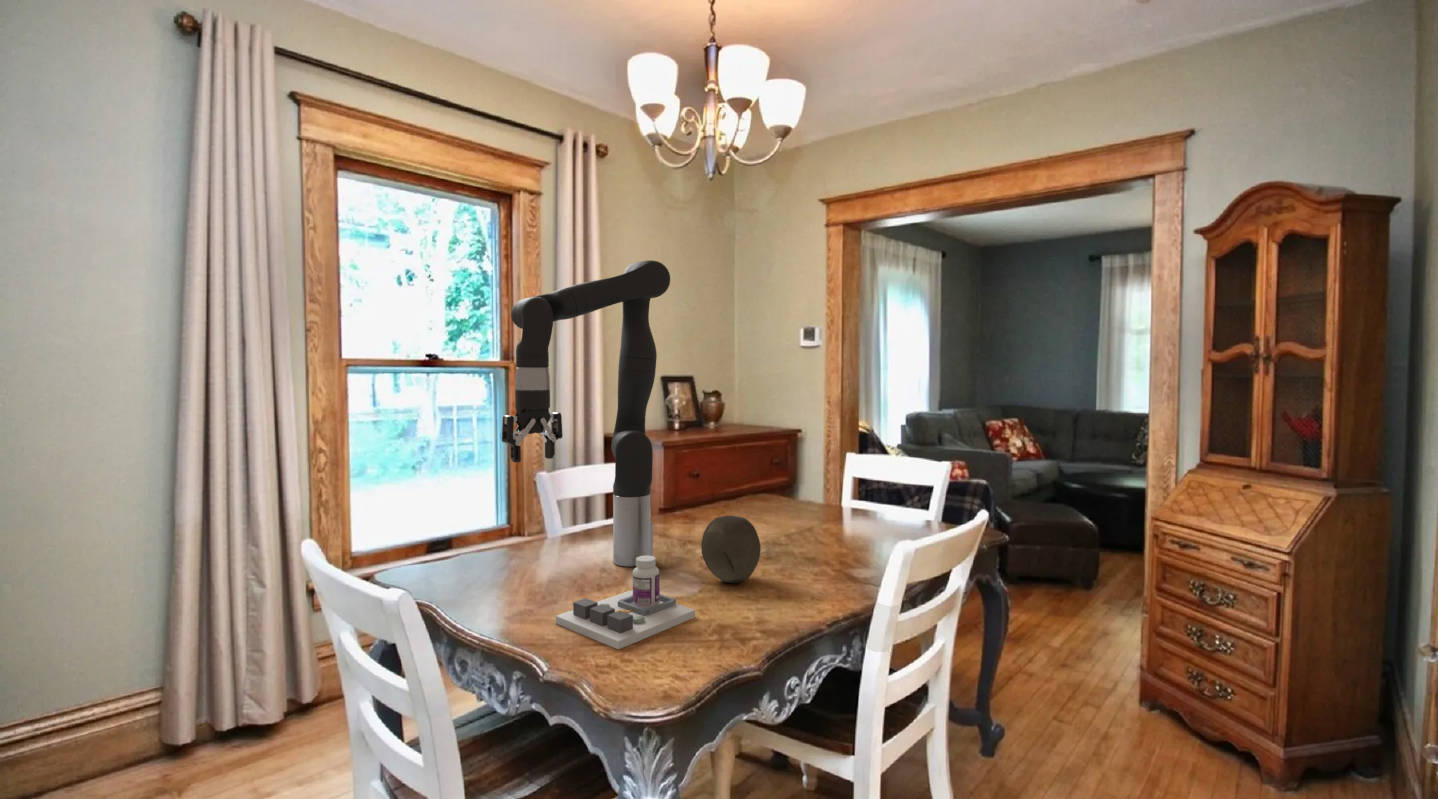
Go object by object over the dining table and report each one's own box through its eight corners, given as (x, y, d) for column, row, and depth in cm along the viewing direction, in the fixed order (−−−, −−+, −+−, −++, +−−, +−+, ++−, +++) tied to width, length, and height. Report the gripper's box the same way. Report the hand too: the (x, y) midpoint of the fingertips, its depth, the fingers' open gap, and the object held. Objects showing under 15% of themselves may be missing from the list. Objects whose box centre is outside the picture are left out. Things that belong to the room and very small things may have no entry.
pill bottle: (648, 598, 140) (648, 552, 139) (665, 605, 136) (665, 558, 136) (627, 605, 136) (627, 557, 136) (643, 612, 132) (643, 563, 132)
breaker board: (633, 596, 146) (633, 578, 145) (695, 617, 134) (695, 597, 134) (555, 623, 130) (555, 603, 130) (618, 649, 119) (618, 627, 118)
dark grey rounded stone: (773, 580, 157) (774, 516, 156) (732, 595, 147) (733, 527, 146) (728, 567, 166) (728, 507, 166) (687, 580, 156) (687, 516, 155)
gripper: (514, 389, 143) (514, 465, 144) (569, 387, 154) (569, 458, 155) (494, 388, 148) (495, 462, 149) (549, 386, 159) (549, 455, 160)
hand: (533, 460), depth 152 cm, fingers open, 8 cm apart
